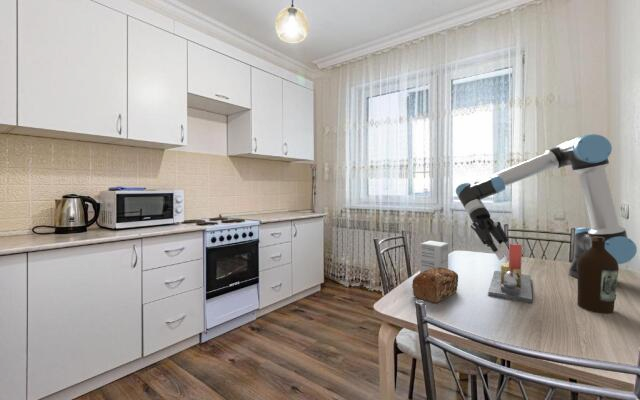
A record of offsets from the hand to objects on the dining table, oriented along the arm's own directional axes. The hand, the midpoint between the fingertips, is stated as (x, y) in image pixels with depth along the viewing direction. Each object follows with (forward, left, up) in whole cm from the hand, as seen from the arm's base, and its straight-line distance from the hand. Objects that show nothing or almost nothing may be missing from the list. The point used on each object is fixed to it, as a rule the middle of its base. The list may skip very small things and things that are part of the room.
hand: (506, 257), depth 120 cm
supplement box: (+27, +6, -14) cm, 31 cm away
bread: (+18, +22, -15) cm, 32 cm away
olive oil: (-26, -7, -14) cm, 31 cm away
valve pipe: (+1, -10, -14) cm, 18 cm away
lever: (-1, -5, -3) cm, 6 cm away
